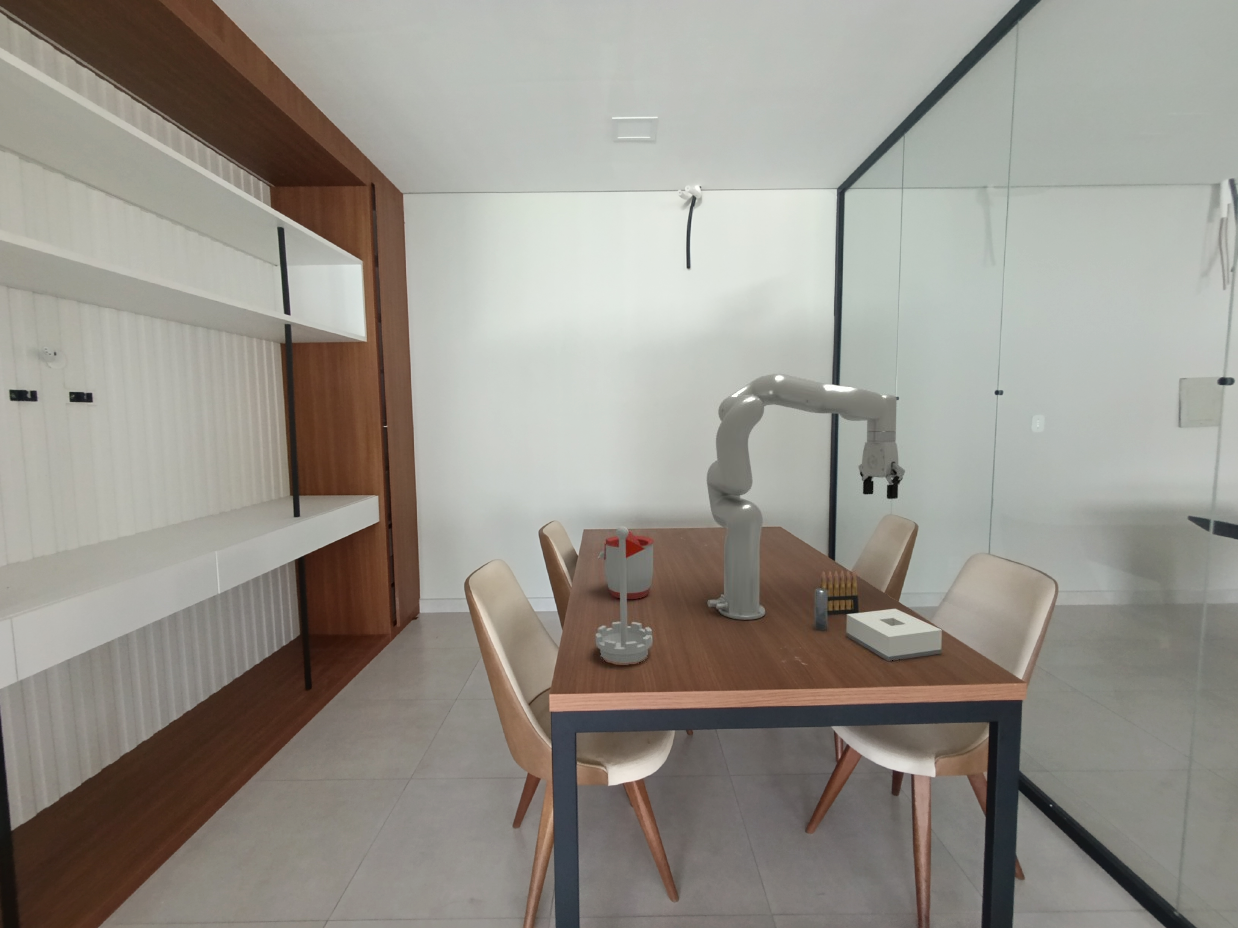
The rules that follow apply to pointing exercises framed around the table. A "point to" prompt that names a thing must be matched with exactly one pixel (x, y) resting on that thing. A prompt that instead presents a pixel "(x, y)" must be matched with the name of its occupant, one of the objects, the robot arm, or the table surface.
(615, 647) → the flag stand
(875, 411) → the robot arm
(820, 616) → the pin
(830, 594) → the ammunition clip
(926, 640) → the socket block
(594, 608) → the table surface
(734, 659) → the table surface
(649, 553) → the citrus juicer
